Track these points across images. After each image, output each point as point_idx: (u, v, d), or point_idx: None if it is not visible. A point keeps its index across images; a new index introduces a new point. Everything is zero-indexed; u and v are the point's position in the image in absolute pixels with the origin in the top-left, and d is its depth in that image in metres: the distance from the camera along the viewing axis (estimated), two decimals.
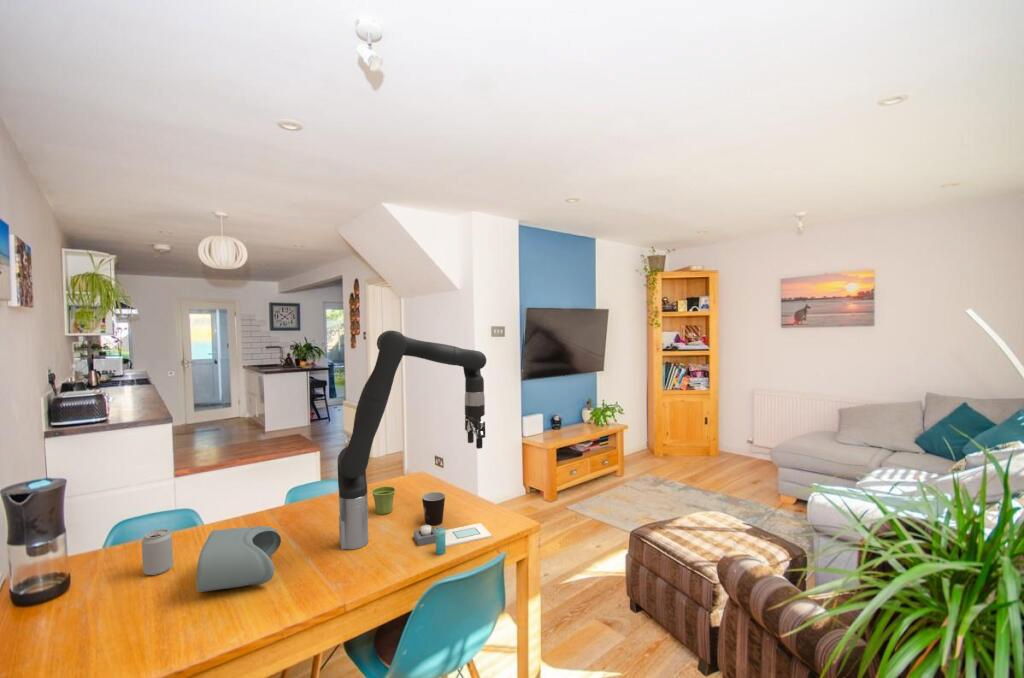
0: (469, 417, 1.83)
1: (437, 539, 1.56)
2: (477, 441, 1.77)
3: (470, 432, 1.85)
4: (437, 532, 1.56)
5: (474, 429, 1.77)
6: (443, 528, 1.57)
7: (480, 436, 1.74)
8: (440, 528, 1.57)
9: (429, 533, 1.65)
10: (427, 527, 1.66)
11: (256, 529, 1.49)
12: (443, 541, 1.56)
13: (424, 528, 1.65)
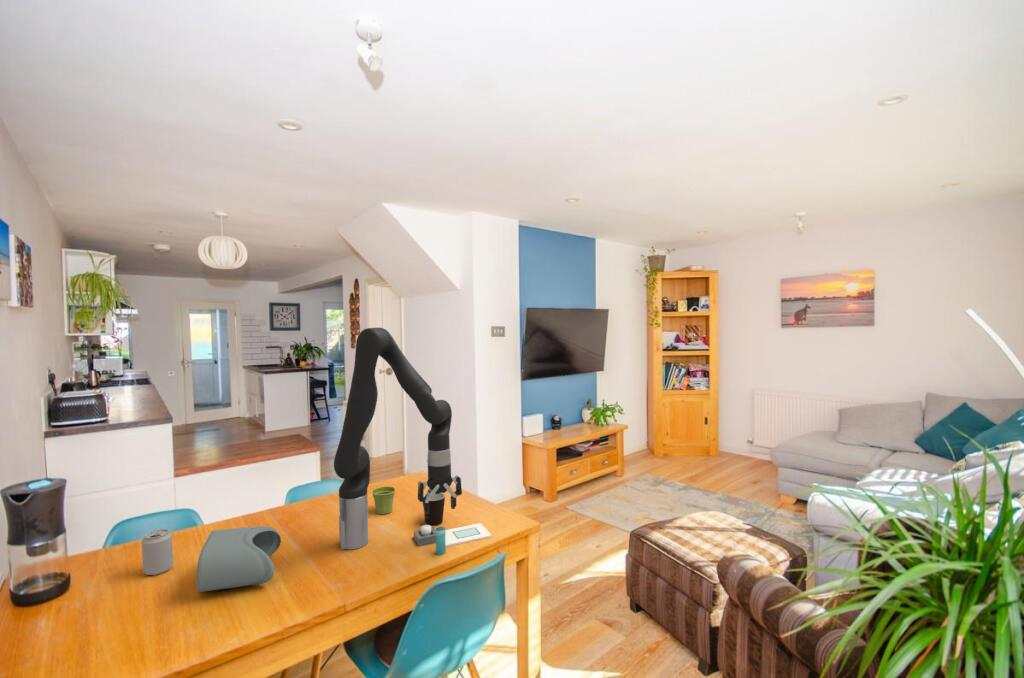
0: (432, 481, 1.54)
1: (437, 539, 1.56)
2: (454, 500, 1.58)
3: None
4: (437, 532, 1.56)
5: (451, 489, 1.56)
6: (443, 528, 1.57)
7: None
8: (440, 528, 1.57)
9: (429, 533, 1.65)
10: (427, 527, 1.66)
11: (256, 529, 1.49)
12: (443, 541, 1.56)
13: (424, 528, 1.65)
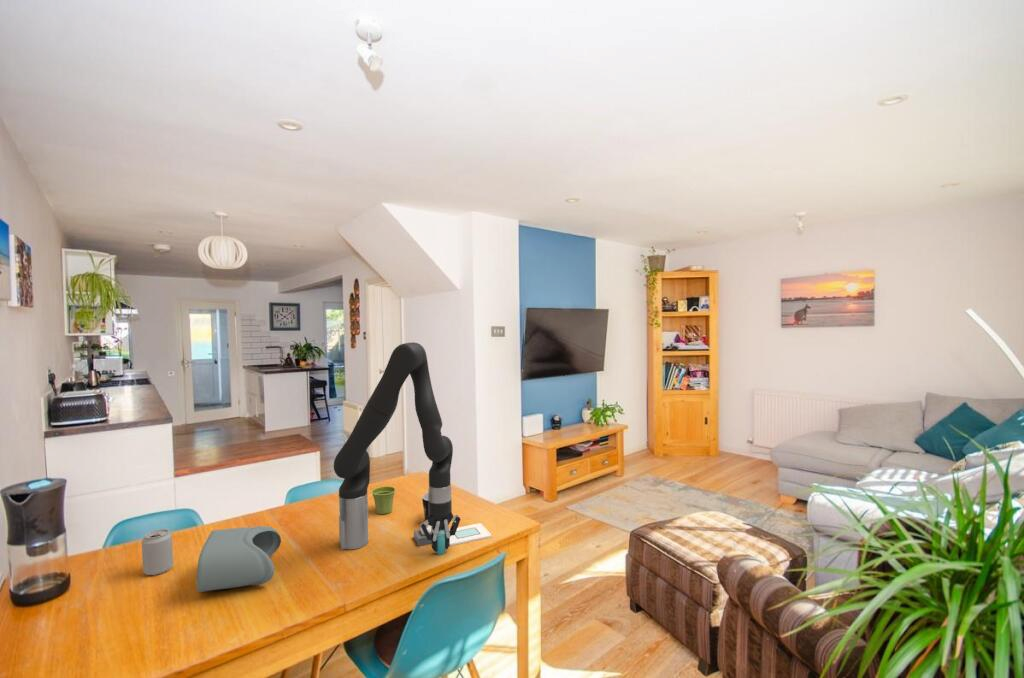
0: (432, 518, 1.55)
1: (437, 539, 1.56)
2: (447, 541, 1.57)
3: None
4: None
5: (448, 528, 1.57)
6: None
7: None
8: None
9: (429, 533, 1.65)
10: None
11: (256, 529, 1.49)
12: (443, 541, 1.56)
13: None
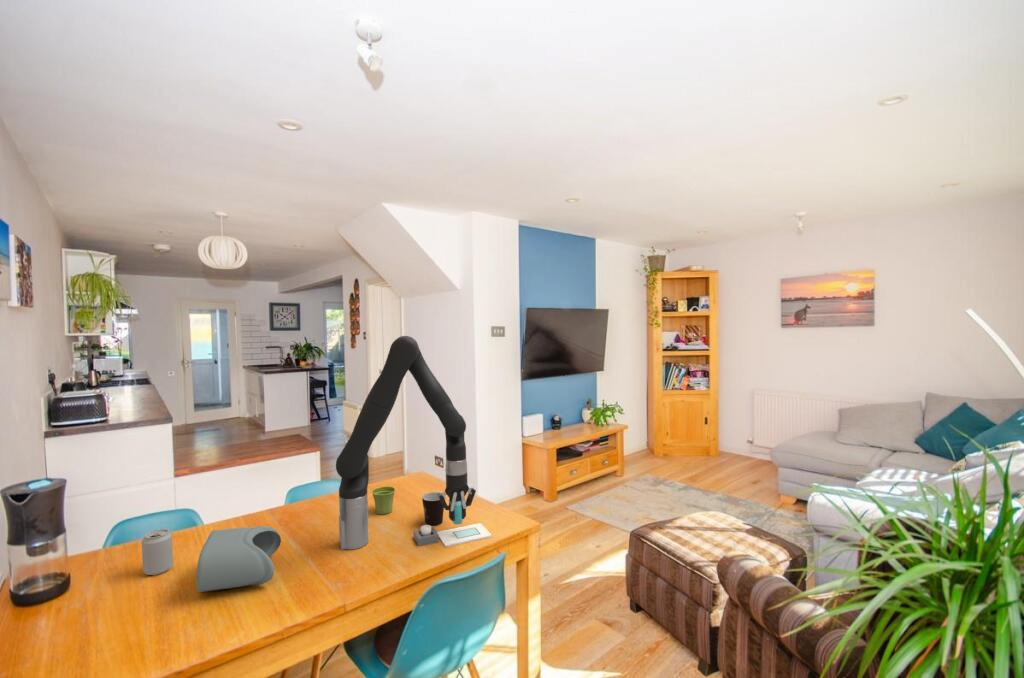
0: (449, 489, 1.66)
1: (454, 509, 1.67)
2: (464, 511, 1.68)
3: None
4: None
5: None
6: None
7: None
8: None
9: (429, 533, 1.65)
10: (427, 527, 1.66)
11: (256, 529, 1.49)
12: (460, 511, 1.67)
13: (424, 528, 1.65)
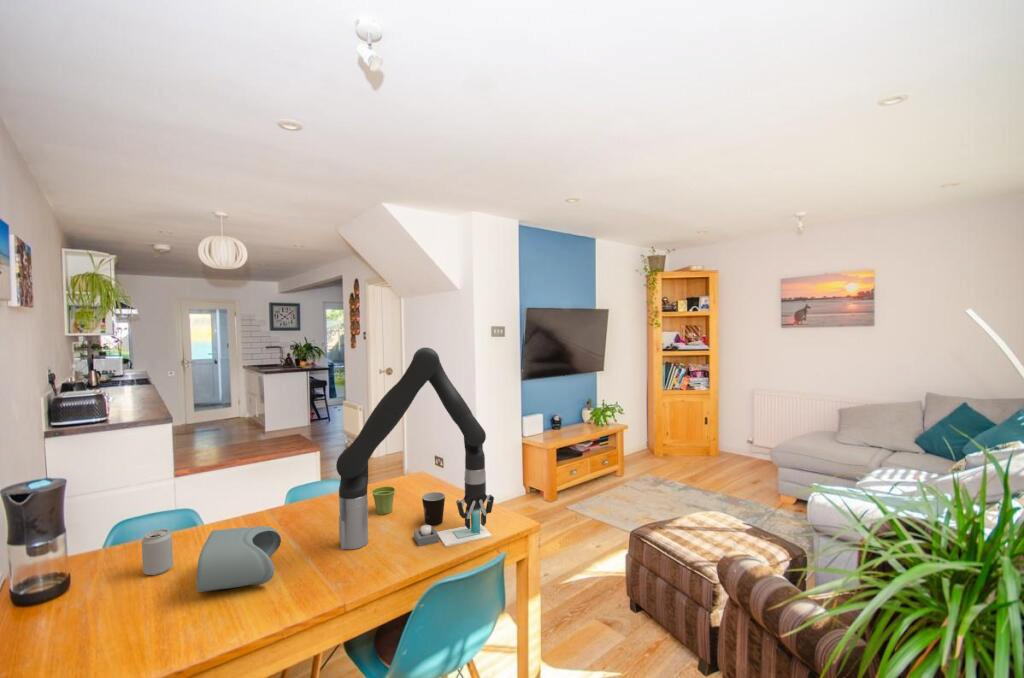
0: (468, 498, 1.69)
1: (472, 518, 1.70)
2: (484, 518, 1.72)
3: None
4: (472, 512, 1.70)
5: None
6: (478, 508, 1.72)
7: None
8: None
9: (429, 533, 1.65)
10: (427, 527, 1.66)
11: (256, 529, 1.49)
12: (478, 520, 1.70)
13: (424, 528, 1.65)
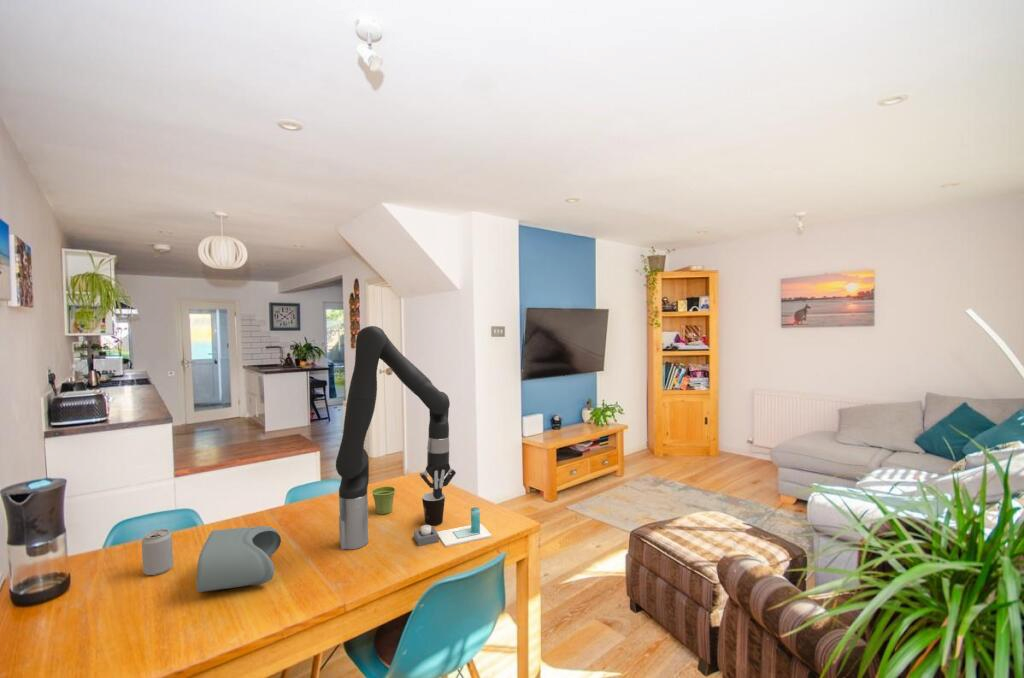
0: (429, 467, 1.65)
1: (472, 518, 1.70)
2: (440, 491, 1.67)
3: None
4: (472, 512, 1.70)
5: (443, 478, 1.66)
6: (478, 508, 1.72)
7: None
8: (475, 508, 1.72)
9: (429, 533, 1.65)
10: (427, 527, 1.66)
11: (256, 529, 1.49)
12: (478, 520, 1.70)
13: (424, 528, 1.65)
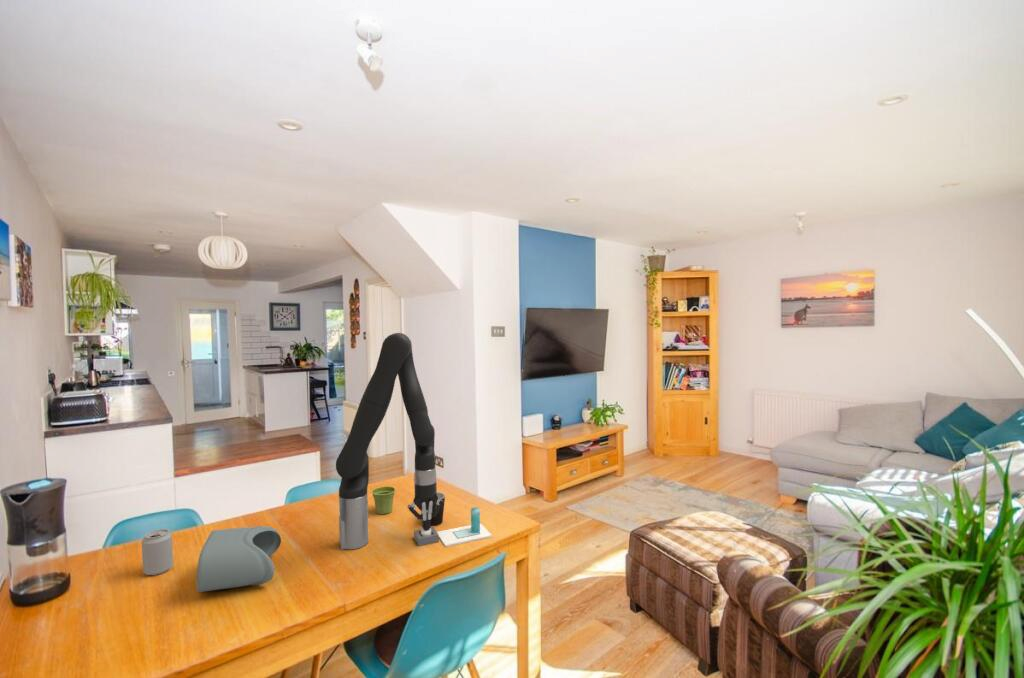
0: (417, 499, 1.64)
1: (472, 518, 1.70)
2: (429, 522, 1.66)
3: (425, 516, 1.66)
4: (472, 512, 1.70)
5: (432, 510, 1.65)
6: (478, 508, 1.72)
7: None
8: (475, 508, 1.72)
9: None
10: None
11: (256, 529, 1.49)
12: (478, 520, 1.70)
13: (424, 531, 1.65)
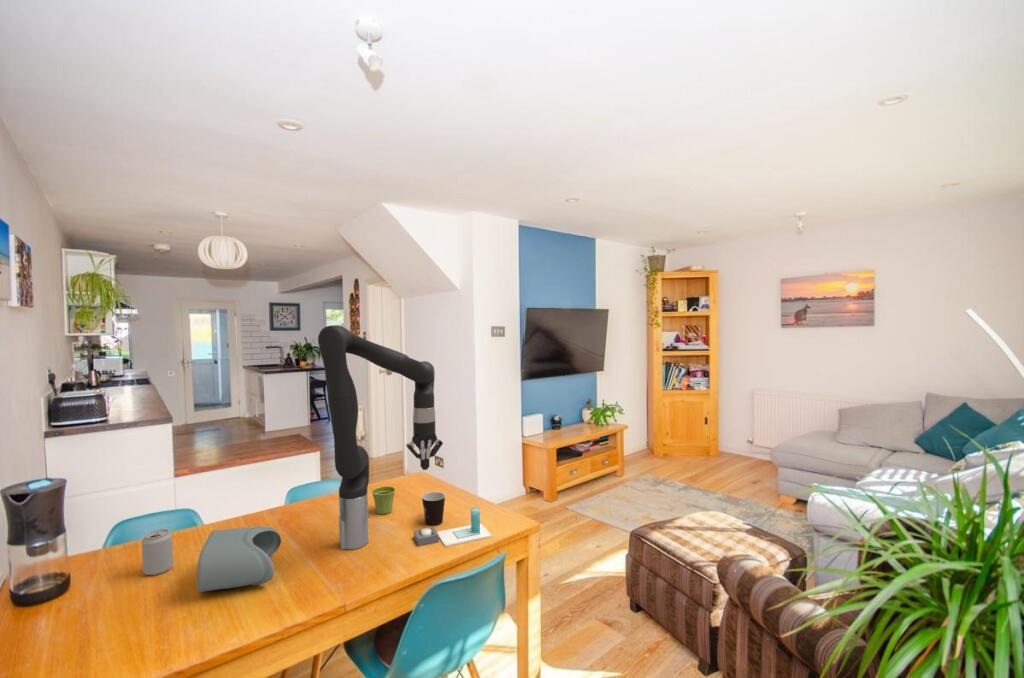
0: (416, 437, 1.62)
1: (472, 518, 1.70)
2: (427, 461, 1.65)
3: None
4: (472, 512, 1.70)
5: (430, 449, 1.64)
6: (478, 508, 1.72)
7: None
8: (475, 508, 1.72)
9: None
10: (427, 530, 1.66)
11: (256, 529, 1.49)
12: (478, 520, 1.70)
13: (424, 532, 1.65)
